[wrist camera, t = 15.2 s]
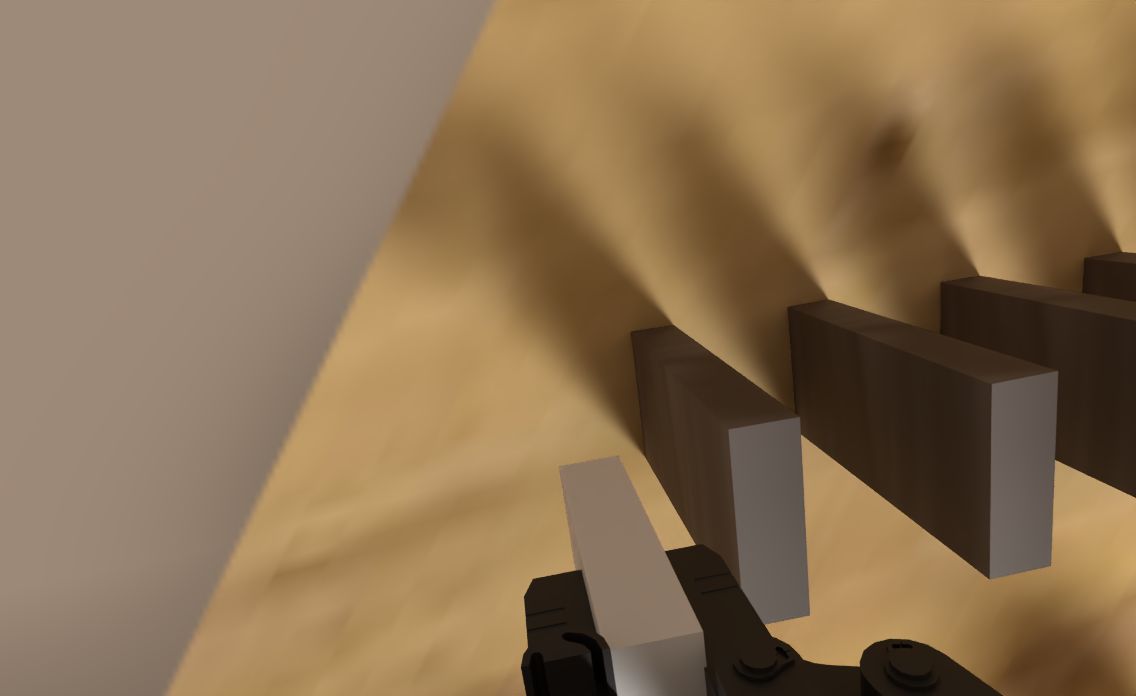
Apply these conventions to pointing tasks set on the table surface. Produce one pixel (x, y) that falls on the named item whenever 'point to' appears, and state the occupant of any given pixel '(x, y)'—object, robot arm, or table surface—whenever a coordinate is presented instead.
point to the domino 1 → (727, 466)
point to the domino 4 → (1111, 276)
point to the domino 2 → (933, 429)
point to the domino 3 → (1062, 362)
